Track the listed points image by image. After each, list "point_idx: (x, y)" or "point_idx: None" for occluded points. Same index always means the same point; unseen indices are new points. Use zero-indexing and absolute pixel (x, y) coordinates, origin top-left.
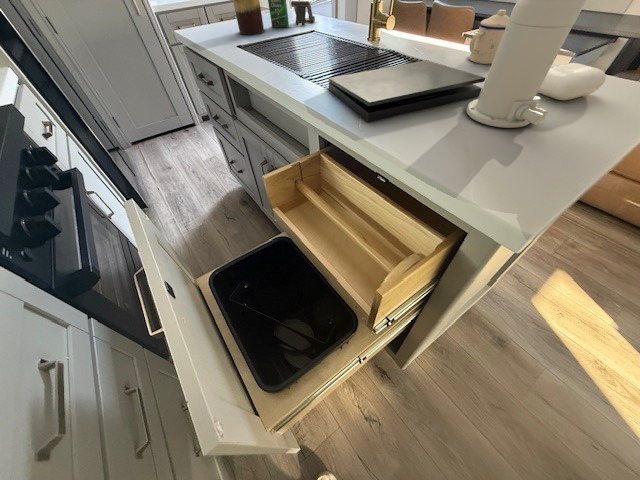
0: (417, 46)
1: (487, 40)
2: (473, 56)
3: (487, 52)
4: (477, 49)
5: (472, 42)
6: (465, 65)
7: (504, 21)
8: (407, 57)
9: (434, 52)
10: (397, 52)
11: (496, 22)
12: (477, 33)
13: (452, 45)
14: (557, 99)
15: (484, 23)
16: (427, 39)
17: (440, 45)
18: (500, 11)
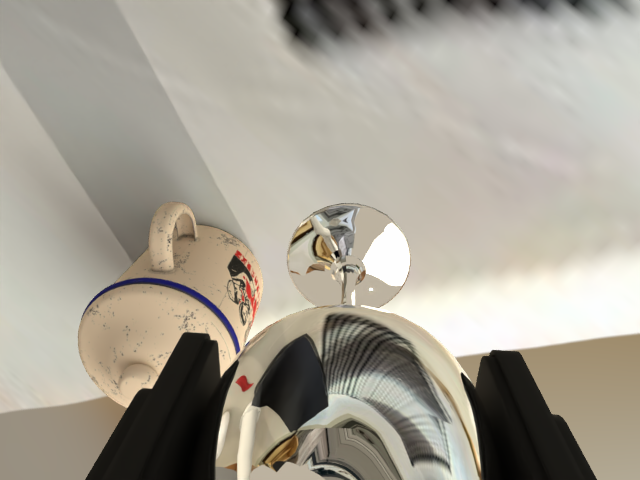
0: (560, 191)
1: (138, 265)
2: (203, 231)
3: (143, 253)
4: (183, 241)
5: (161, 206)
6: (179, 167)
7: (97, 346)
8: (431, 4)
9: (415, 190)
10: (549, 14)
11: (110, 317)
12: (159, 241)
13: (453, 331)
14: None
15: (159, 291)
16: (621, 316)
17: (491, 292)
18: (127, 372)
